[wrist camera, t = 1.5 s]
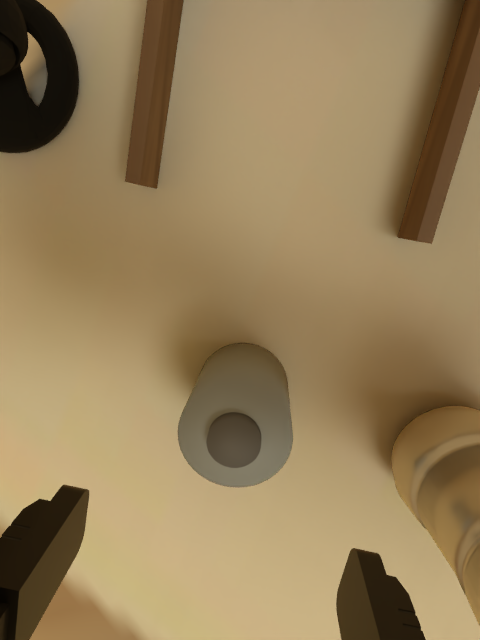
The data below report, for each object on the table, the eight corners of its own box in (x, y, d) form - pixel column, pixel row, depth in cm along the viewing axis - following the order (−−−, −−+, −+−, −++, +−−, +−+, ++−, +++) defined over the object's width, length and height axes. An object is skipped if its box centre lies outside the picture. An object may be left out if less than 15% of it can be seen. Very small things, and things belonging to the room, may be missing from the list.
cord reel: (296, 353, 24) (305, 402, 18) (277, 434, 26) (279, 506, 19) (207, 334, 24) (185, 376, 18) (192, 415, 26) (166, 481, 19)
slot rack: (700, 18, 19) (803, -30, 15) (594, 277, 22) (659, 289, 18) (179, -80, 20) (158, -149, 16) (143, 185, 23) (119, 179, 19)
